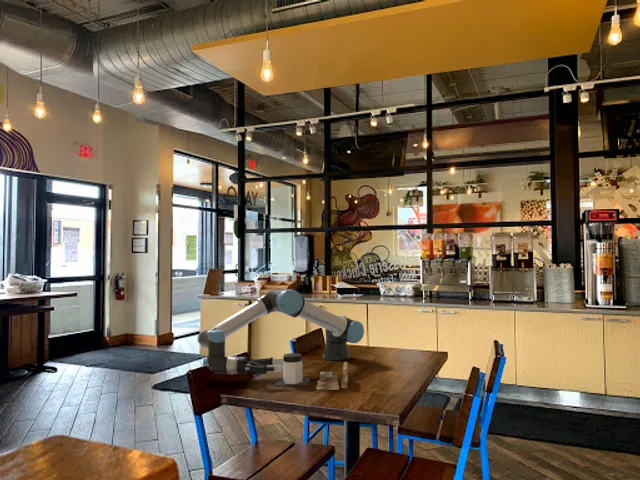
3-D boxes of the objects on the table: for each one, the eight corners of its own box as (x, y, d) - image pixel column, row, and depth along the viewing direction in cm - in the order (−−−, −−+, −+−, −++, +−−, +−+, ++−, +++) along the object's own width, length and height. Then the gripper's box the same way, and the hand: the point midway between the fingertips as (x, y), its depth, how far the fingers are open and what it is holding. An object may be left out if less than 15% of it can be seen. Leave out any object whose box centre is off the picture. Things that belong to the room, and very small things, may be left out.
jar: (304, 383, 208) (304, 356, 209) (286, 385, 206) (285, 357, 207) (299, 378, 217) (298, 352, 218) (281, 380, 215) (281, 353, 215)
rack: (316, 389, 200) (316, 370, 200) (319, 379, 217) (319, 361, 217) (346, 389, 199) (346, 370, 199) (347, 379, 216) (347, 361, 216)
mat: (275, 385, 208) (275, 384, 208) (279, 379, 219) (279, 377, 219) (307, 385, 206) (307, 384, 206) (310, 379, 218) (310, 377, 218)
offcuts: (317, 386, 200) (317, 373, 200) (318, 385, 203) (317, 371, 203) (337, 386, 199) (337, 373, 200) (338, 385, 202) (337, 371, 203)
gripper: (244, 367, 227) (288, 367, 225) (230, 380, 202) (280, 380, 201) (244, 351, 227) (288, 351, 226) (230, 362, 202) (279, 362, 201)
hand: (284, 365), depth 213 cm, fingers open, 13 cm apart
